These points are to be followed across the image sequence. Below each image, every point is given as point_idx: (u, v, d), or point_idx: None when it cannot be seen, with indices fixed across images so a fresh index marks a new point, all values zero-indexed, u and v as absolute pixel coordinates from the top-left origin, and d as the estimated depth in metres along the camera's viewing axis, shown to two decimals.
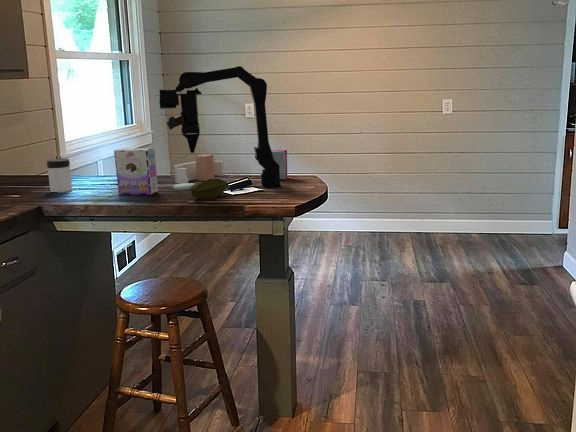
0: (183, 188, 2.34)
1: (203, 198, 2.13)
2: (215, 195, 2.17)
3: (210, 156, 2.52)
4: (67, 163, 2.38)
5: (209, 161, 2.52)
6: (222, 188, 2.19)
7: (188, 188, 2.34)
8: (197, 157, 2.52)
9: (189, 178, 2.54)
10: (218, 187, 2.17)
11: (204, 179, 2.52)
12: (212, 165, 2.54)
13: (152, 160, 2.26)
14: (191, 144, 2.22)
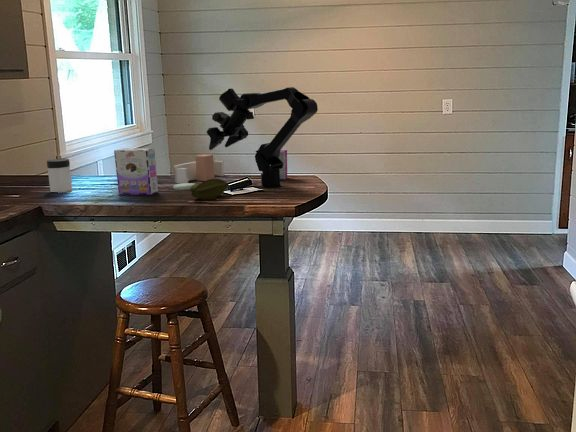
0: (183, 188, 2.34)
1: (203, 198, 2.13)
2: (215, 195, 2.17)
3: (210, 156, 2.52)
4: (67, 163, 2.38)
5: (209, 161, 2.52)
6: (222, 188, 2.19)
7: (188, 188, 2.34)
8: (197, 157, 2.52)
9: (189, 178, 2.54)
10: (218, 187, 2.16)
11: (204, 179, 2.52)
12: (212, 165, 2.54)
13: (152, 160, 2.26)
14: (211, 144, 2.41)
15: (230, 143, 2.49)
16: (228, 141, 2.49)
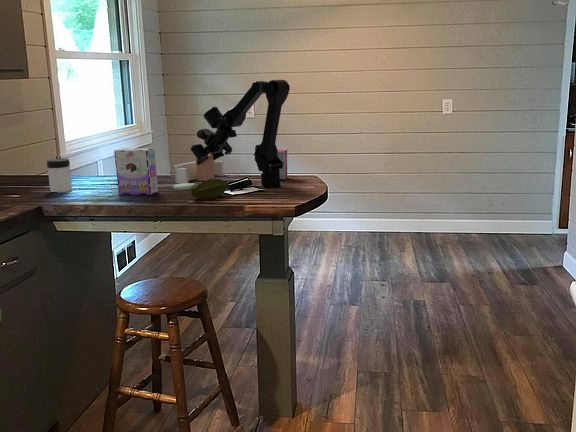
0: (183, 188, 2.34)
1: (203, 198, 2.13)
2: (215, 195, 2.16)
3: (210, 156, 2.52)
4: (67, 163, 2.38)
5: (209, 161, 2.52)
6: (222, 188, 2.18)
7: (188, 188, 2.34)
8: None
9: (189, 178, 2.54)
10: (218, 187, 2.16)
11: (204, 179, 2.52)
12: (212, 165, 2.54)
13: (152, 160, 2.26)
14: (199, 159, 2.50)
15: None
16: None
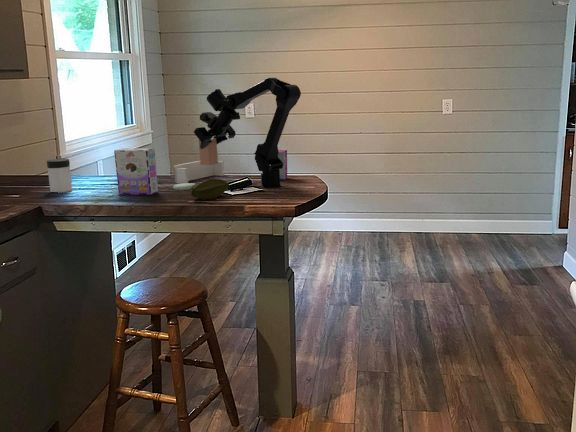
0: (183, 188, 2.34)
1: (203, 198, 2.13)
2: (215, 195, 2.16)
3: (213, 140, 2.49)
4: (67, 163, 2.38)
5: (212, 145, 2.49)
6: (223, 188, 2.18)
7: (188, 188, 2.34)
8: (200, 141, 2.49)
9: (189, 178, 2.54)
10: (218, 187, 2.16)
11: (207, 163, 2.49)
12: (215, 149, 2.51)
13: (152, 160, 2.26)
14: (202, 143, 2.47)
15: None
16: None
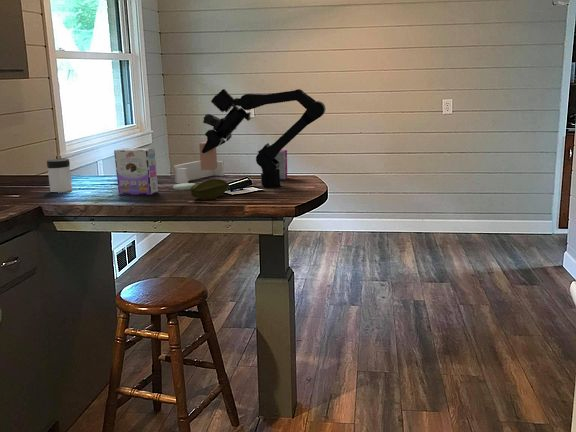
0: (183, 188, 2.34)
1: (203, 198, 2.13)
2: (215, 195, 2.16)
3: None
4: (67, 163, 2.38)
5: (214, 148, 2.35)
6: (223, 188, 2.18)
7: (188, 188, 2.34)
8: (202, 145, 2.32)
9: (189, 178, 2.54)
10: (218, 187, 2.16)
11: (211, 168, 2.34)
12: (215, 152, 2.37)
13: (152, 160, 2.26)
14: (207, 147, 2.31)
15: None
16: None
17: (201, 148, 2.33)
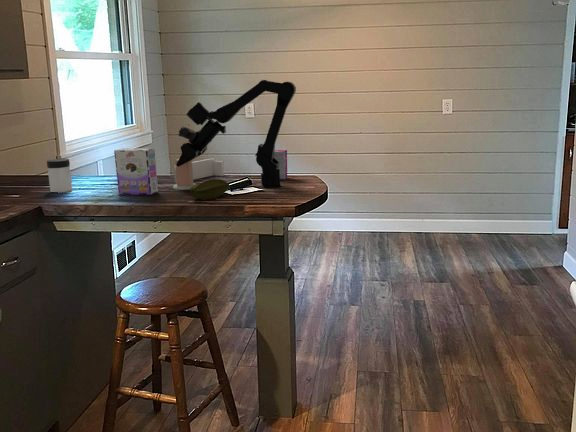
0: (183, 188, 2.34)
1: (203, 198, 2.13)
2: (215, 195, 2.16)
3: None
4: (67, 163, 2.38)
5: (190, 164, 2.37)
6: (223, 188, 2.18)
7: (188, 188, 2.34)
8: None
9: None
10: (218, 187, 2.16)
11: (187, 184, 2.35)
12: (191, 169, 2.38)
13: (152, 160, 2.26)
14: (181, 160, 2.31)
15: None
16: None
17: None
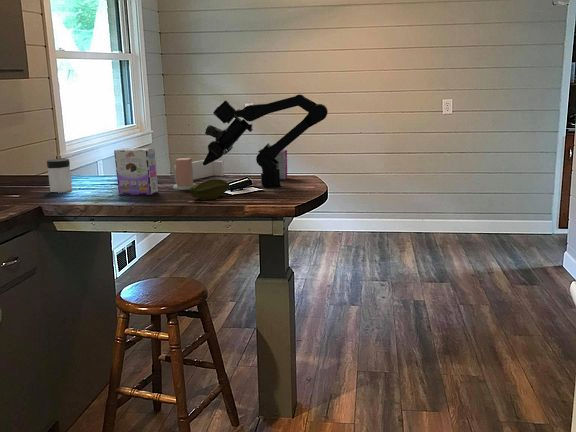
0: (183, 188, 2.34)
1: (203, 198, 2.13)
2: (215, 195, 2.16)
3: (190, 159, 2.37)
4: (67, 163, 2.38)
5: (190, 164, 2.37)
6: (223, 189, 2.18)
7: (188, 188, 2.34)
8: (178, 161, 2.34)
9: None
10: (218, 188, 2.16)
11: (187, 184, 2.35)
12: (191, 169, 2.38)
13: (152, 160, 2.26)
14: (208, 159, 2.29)
15: None
16: None
17: (177, 165, 2.34)
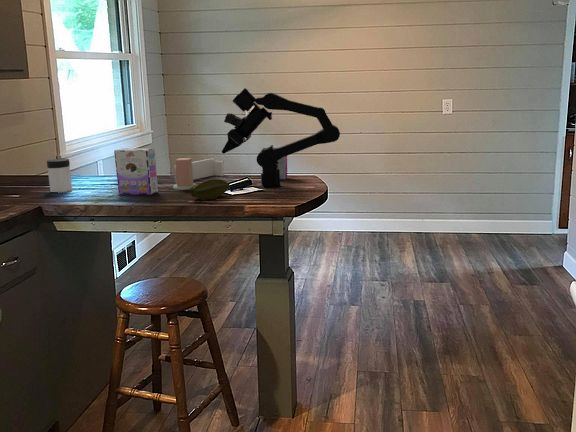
0: (183, 188, 2.34)
1: (202, 198, 2.13)
2: (215, 195, 2.16)
3: (190, 159, 2.37)
4: (67, 163, 2.38)
5: (190, 164, 2.37)
6: (223, 189, 2.18)
7: (188, 188, 2.34)
8: (178, 161, 2.34)
9: None
10: (218, 188, 2.16)
11: (187, 184, 2.35)
12: (191, 169, 2.38)
13: (152, 160, 2.26)
14: (227, 147, 2.27)
15: None
16: None
17: (177, 165, 2.34)
